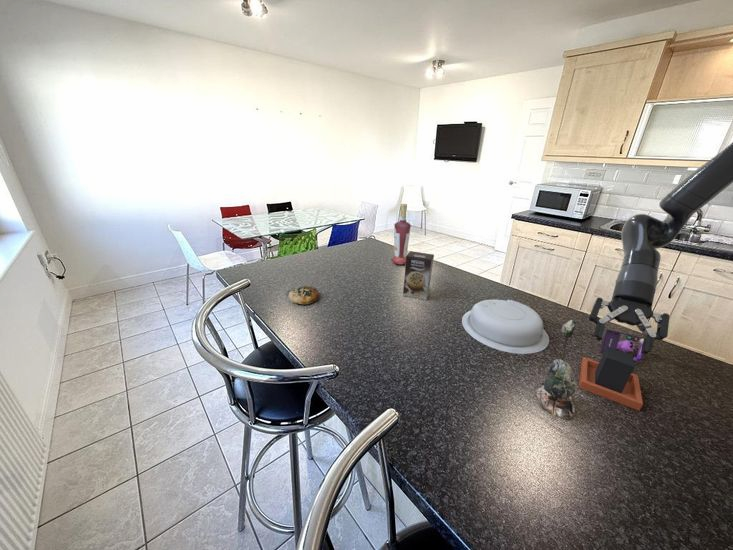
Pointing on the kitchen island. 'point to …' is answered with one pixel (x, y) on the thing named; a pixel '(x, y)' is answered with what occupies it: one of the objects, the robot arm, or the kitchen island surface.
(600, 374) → the pad block
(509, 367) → the kitchen island surface
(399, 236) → the liquor
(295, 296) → the bread roll
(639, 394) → the base pad
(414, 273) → the dark cardboard box
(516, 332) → the grey round dish
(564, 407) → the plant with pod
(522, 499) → the kitchen island surface
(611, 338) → the purple box
